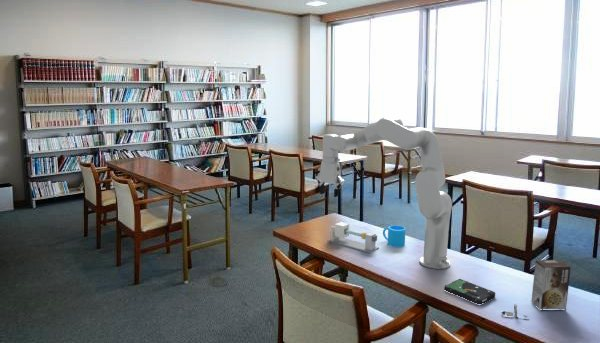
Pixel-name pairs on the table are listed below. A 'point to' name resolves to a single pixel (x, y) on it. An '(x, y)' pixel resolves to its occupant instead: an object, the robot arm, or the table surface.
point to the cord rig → (367, 247)
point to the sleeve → (341, 229)
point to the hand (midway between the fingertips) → (329, 194)
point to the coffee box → (550, 284)
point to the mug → (395, 235)
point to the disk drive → (470, 291)
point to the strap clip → (511, 312)
